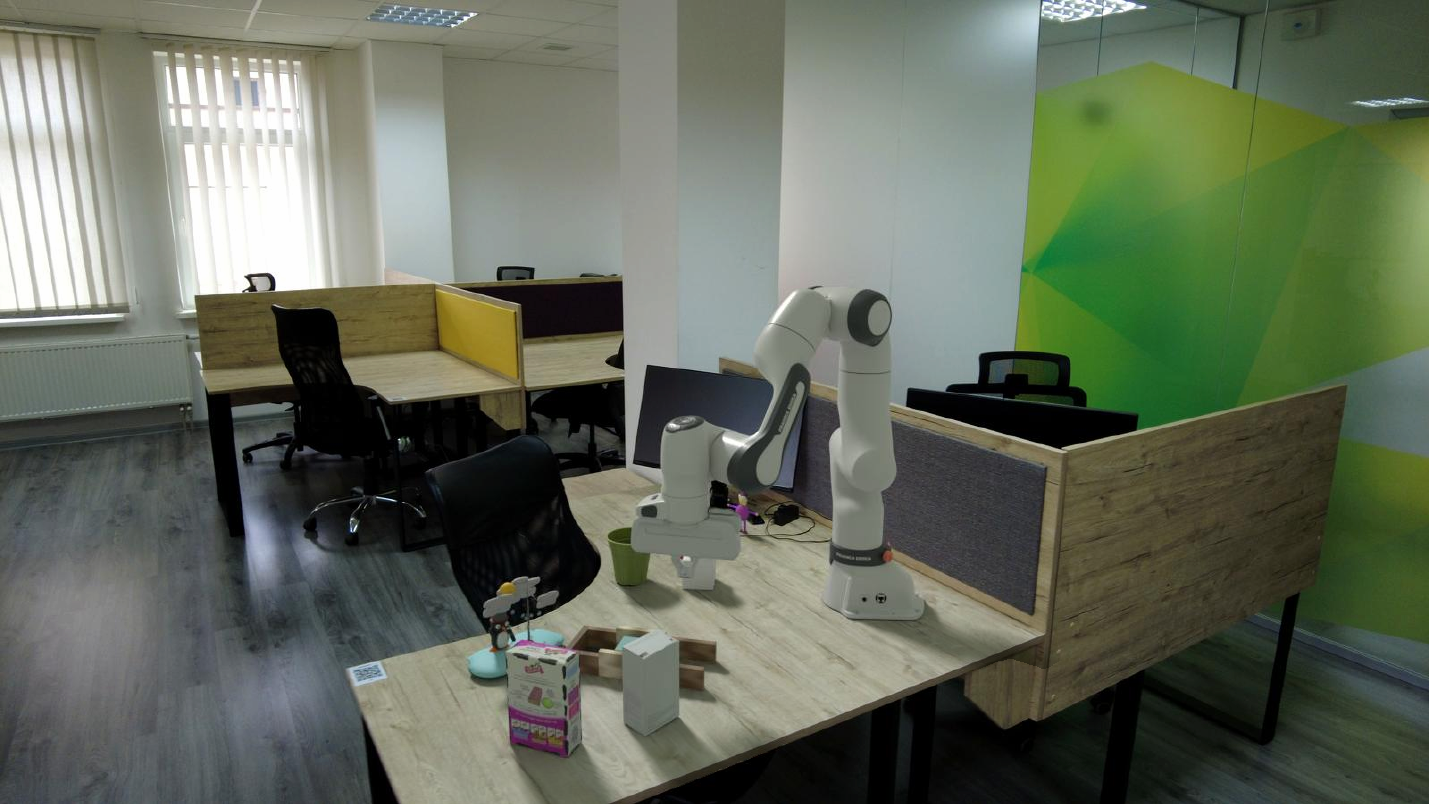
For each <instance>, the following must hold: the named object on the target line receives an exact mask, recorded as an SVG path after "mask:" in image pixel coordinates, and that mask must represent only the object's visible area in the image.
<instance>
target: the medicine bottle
mask: <svg viewBox="0 0 1429 804" xmlns="http://www.w3.org/2000/svg"><path fill="white" fill-rule="evenodd" d="M681 563H682V564H683V566H692V564H693V563H694V562H691V557H686V556H684V558H683V559H682V561H681ZM716 566H717V559H708V558H700V560H699V562H698V563H697V565H696V567H695V575H694V578H693V579H690V578H681V579H682V587H681V588H682V589H683V590H695V591H697V590H698V591H713V590H714V585H715V583H716V579H717V575H716V574H717V567H716Z"/></svg>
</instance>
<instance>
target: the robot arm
mask: <svg viewBox="0 0 1429 804" xmlns="http://www.w3.org/2000/svg"><path fill="white" fill-rule="evenodd" d="M892 320H893V310H892V306H891V304H890V302H889V300H888V298H887V297H886V296H885V294H883V293H880V292H879V291H876V290H873V289H871V288H866V289H863V288H860V287H859V288H858V287H853V286H848V285H847V286H846V285H840V286H822V285H816V286H810V287H807V288H806V287H804V288H803V287H802V288H797V289H794V290H793V291H792V292H790V294H789V295H787V296H786V298H785V299H784V300H783V301H782V302H781V303H780V304H779V306H778V307H777V308H776V310H775V311H774V312H773V313H772V315H771V317H770V318H769V319H768V320H767V323H766V324H765V326H764V328H763V329H762V331H761V333H760V334H759V336H758V338H757V339H756V342H755V345H754V347H753V352H752V353H753V354H752V355H753V361H754V364H755V367H756V369H757V370H758V372H759V373H760V375H761V376H763V378H764V379H765V380H767V382H768V383H770V384H771V385H772V387H773V394H772V398H771V400H770V403H769V406H768V408H767V411H766V413H765V416H764V418H763V420H762V423H761V424H760V427H759V429H758V431H757V432H755V433H754V434H752V435H747V434H745V433H741V432H738V431H736V430H732V429H730V428H729V429H728V428H725V427H722V426H717V425H715V424H712V423H710V422H708V421H706V420H705V418H703V417H701V416H699V415H683V416H679V417H678V416H677V417H675V418H674V419H673V418H672V420H670V421H669V422H667V423H666V425H665V426H664V428H663V430H662V431H663V432H662V435H661V442H660V470H661V474H662V484H661V487H660V492H657V493H654V494H650V495H647V496H645V497H644V498H642V500H641V501H640V502H639V503H638V504H637V505H636V508H635V514H636V517H635V519H634V520H633V523H632V525H631V527H632V532H631V547H632V548H633V550H634V551H635V552H642V553H651V554H656V555H667V556H670V561H671V562H672V564H673V565H674V567H675V569H676V570H677V572H676V576H677V578H681V579H682V578H690V579H693V578H694V575H695V567H696V565H697V563H698V562H699V560H700V558H708V559H716V560H719V561H721V560H722V561H733V562H734V561H735V560H736V559H737V558H738V557H739V556H740V554H741V551H742V544H741V543H742V542H741V534H740V532H742V531H741V528H742V522H743V521H742V519H741V517H740V515H739V514H738V513H736V512H735V510H734V509H731V508H717V507H711V505H710V503H711V502H710V501H711V499H710V497H711V495H710V493H711V489H710V484H711V482H713V481H718V482H721V483H724V484H725V485H728V486H732V487H733V488H735V489H736V490H739V491H740V492H741V491H742V492H743V494H747V495H749V496H759V495H761V494H763V493H765V492H766V491H768V490H770V489H771V488H772V487H773V486H774V485H775V483H777V481H778V479H779V477H780V474H781V471H782V469H783V464H784V458H785V455H786V452H787V448H788V446H789V444H790V442H791V438H792V435H793V433H794V431H795V429H796V426H797V424H798V422H799V419H800V416H801V414H802V411H803V409H804V406H805V403H806V401H807V398H808V396H809V391H810V388H811V383H812V377H811V374H810V372H809V369H810V365H811V362H812V360H813V358H814V356H815V354H817V351H818V349H819V348H820V345H821V344H822V341H823V339H824V340H828V341H833V342H839V344H840V349H839V358H838V375H837V376H838V377H837V401H836V404H837V411H838V415H839V417H838V418H839V424H840V425H839V426H840V427H838V428H836V430H834V432H833V433H832V434H831V436H830V439H829V443H828V451H829V459H830V460H829V464H830V465H829V466H830V468H829V469H830V484H831V494H832V532H831V537H830V540H829V545H828V564H829V569H828V575H827V579H826V583H825V586H824V590H823V593H822V595H821V598H822V601H823V603H824V604H825V605H826V606H828V607H829V608H830V609H832V610H835V611H838V612H840V613H841V614H842V615H843V616H844V617H845V618H848V619H853V620H855V619H857V620H859V619H860V620H862V619H863V620H892V621H893V620H894V621H895V620H896V621H897V620H898V621H900V620H901V621H916V620H918V619H920V618H921V617H922V616H923V614H924V613H925V600H924V597H923V595H922V594H921V592H919V591H917V590H916V589H915V588H916V587H915V583H914V580H913V577H912V575H911V574H910V573H909V571H907V570H906V569H905V568H903V567H902V566H901V565H900V564H899V563H897V562H896V561H895V560H893V558H894V557H893V556H894V554H893V552H892V547H891V543H890V542H889V541H888V542H886V541H884V540H883V537H884V534H883V533H884V532H883V531H884V518H885V517H884V515H885V506H884V502H883V497H882V492H883V491H885V490H886V489H888V488H889V487H890V486H891V485H892V484H893V482H894V481H895V478H896V477H897V463H896V459H895V453H894V452H895V451H894V437H893V428H892V420H891V419H892V418H891V406H890V405H891V403H890V402H891V382H892V346H891V345H892V344H891V337H890V332H889V330H890V327H891V325H892ZM742 529H743V528H742ZM681 556H686V557H691V562H694V563H693V564H692V566H683V564H682V561H681V559H680V557H681Z"/></svg>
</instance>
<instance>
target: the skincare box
mask: <svg viewBox="0 0 1429 804" xmlns="http://www.w3.org/2000/svg"><path fill="white" fill-rule="evenodd" d="M659 630H660V629H657V628H656V629H654V630H653V631H652V632H650V633H648V634H646V635H644V636H642V637H640V638H638V639H636V640H634V641H632V642H630V643H628V644H626V645H624V646H622V668H623V679H622V704H623V705H622V706H623V707H622V709H623V712H622V713H623V723H624V724H625V725H627V726H628V727H630V728H632V729H633V730H635V731H636V732H638V733H639V734H640V735H642V736H643V737H647V736H649V735H650V734H653V733H654V732H655V731H657V730H658V729H660V728H662V727H664V726H665V725H667V724H669V723H671V722H672V721H673V720H674V719H677V718H679V717H680V687H679V664H680V659H679V640H676V639H675V638H673V637H674V636H673V637H671V636H672V635H669V634H668V633H667V634H665V633H663V632H661V631H659Z"/></svg>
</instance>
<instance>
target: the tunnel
mask: <svg viewBox="0 0 1429 804" xmlns="http://www.w3.org/2000/svg"><path fill="white" fill-rule="evenodd" d="M653 630H655V629H653V628H645V627H637V626H630V625H629V626H628V625H620V624H618V625H617V627H616V628H607V627H600V626H593V625H592V626H591V625H583V626H582V628H581V629H580V630H579V631H578V633H577V634H576V635H575V636H574V637H573V638H572V640H571V641H570V642H569V643H568V645H567V646H566V647H565V648H567V649H572V650H577V651H579V657H580V675H588V676H595V677H602V678H610V679H617V680H623V668H622V651H615V649H616V647H617V646H618V644H619V643H620V641H621V640H622V638H623V637H624V636H629V637H637V638H640V637H642V636H644V635H646V634H648V633H650V632H652V631H653ZM658 630H659V631H661V632H663V633H665V634H667V635H668V631H667V630H663V629H662V630H661V629H658ZM670 636H671V637H673V638H675V639H676V640H679V660H682V661H690V662H697V663H706V664H714V665H716V662H717V641H711V640H704V639H695V638H688V637H681V636H673V635H670ZM679 688H682V689H689V690H696V691H697V690H698V691H704V689H705V666H699V665H693V664H692V665H691V664H684V663H679Z"/></svg>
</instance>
